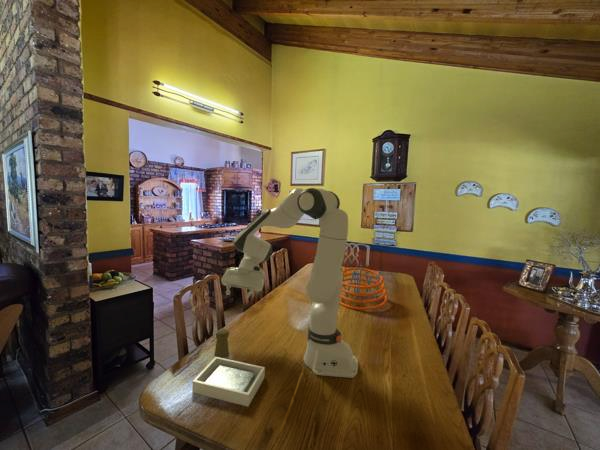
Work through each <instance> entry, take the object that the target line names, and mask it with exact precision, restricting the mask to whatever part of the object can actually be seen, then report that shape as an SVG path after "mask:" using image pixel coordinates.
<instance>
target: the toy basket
mask: <svg viewBox="0 0 600 450" xmlns="http://www.w3.org/2000/svg"><path fill="white" fill-rule="evenodd" d="M340 270H341V271H342V274H343V283H342V290H341V292H343V293H345V296H344V295H343V294H341V296H340V299H343V300H345V301H348V302H351V303H355V304H356V305H350V304H347V303H344V302H342V301H341V300H340V302H339V305H341V306H343V307H345V308H347V309H352V310H357V311H358V310H359V311H370V310H371V311H372V310H376V309H379V308H382V307H383V306H385V305H386V304H387V302H388V295H387V289H386V286H385V282H384V277H383V276H382V275H383V274H382V275H381V273H382V271H381V270H379V272H377V271H376V270H373V269H369V268H364V267H363V263H360V267H348V268H344V269H342V267H341V269H340ZM348 271H353V272H349V273H348ZM356 271H357V272H356ZM362 271H363V272H365V273H363V272H362ZM345 272H347V273H345ZM368 272H369V273H370V274H369V273H368ZM372 274H374V275H372ZM348 276H351V277H348ZM346 277H347V278H346ZM363 277H364V278H363ZM365 277H366V278H365ZM373 279H375V280H373ZM348 281H349V282H348ZM353 281H354V282H353ZM361 281H364V282H361ZM365 282H367V283H365ZM370 283H373V284H370ZM347 287H348V289H347ZM351 288H353V290H354V291H350V289H351ZM361 289H363V290H364V289H366V291H365V292H360V290H361ZM371 289H375V291H371ZM378 294H381V295H380V296H379V297H377V296H378ZM349 295H353V296H356V297H355V298H356V299H355V298H349V297H348V296H349ZM373 295H375V296H374V298H373ZM359 296H361V297H362V296H363V297H364V298H363V299H359ZM368 296H370V299H367V297H368ZM382 299H384V301H382V302H381V303H380V304H377V305H373V306H366V307H365V306H363V307H362V306H357V305H359V304H368V303H374V304H376V303H377V302H378V301H380V300H382Z"/></svg>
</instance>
